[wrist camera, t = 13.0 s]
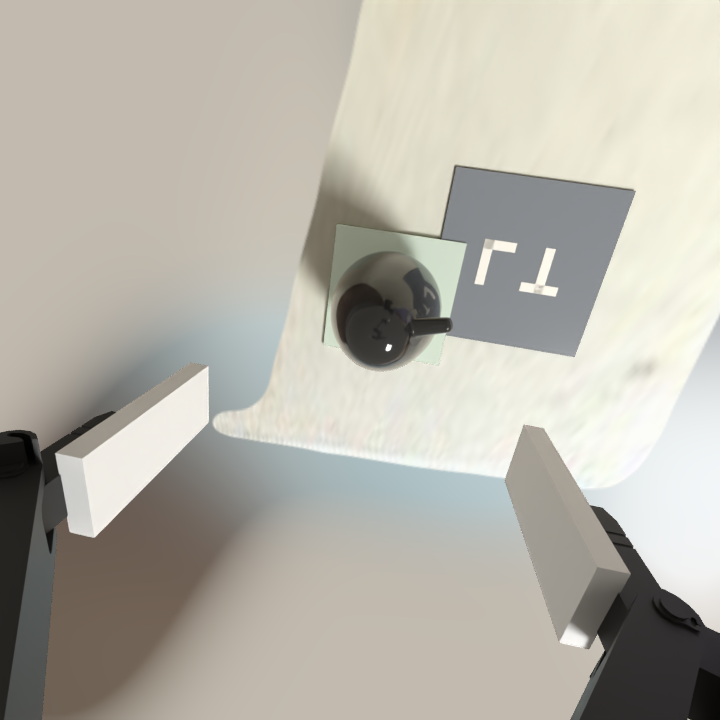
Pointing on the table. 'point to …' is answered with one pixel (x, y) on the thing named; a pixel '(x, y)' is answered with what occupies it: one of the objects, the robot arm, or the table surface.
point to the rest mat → (429, 251)
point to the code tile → (530, 256)
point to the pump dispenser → (386, 311)
